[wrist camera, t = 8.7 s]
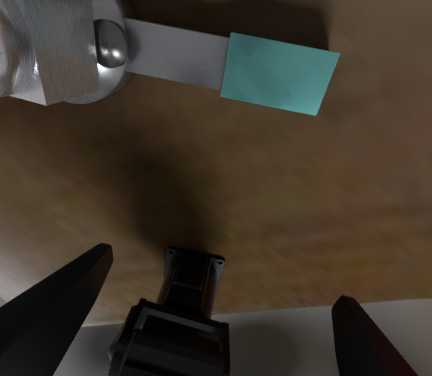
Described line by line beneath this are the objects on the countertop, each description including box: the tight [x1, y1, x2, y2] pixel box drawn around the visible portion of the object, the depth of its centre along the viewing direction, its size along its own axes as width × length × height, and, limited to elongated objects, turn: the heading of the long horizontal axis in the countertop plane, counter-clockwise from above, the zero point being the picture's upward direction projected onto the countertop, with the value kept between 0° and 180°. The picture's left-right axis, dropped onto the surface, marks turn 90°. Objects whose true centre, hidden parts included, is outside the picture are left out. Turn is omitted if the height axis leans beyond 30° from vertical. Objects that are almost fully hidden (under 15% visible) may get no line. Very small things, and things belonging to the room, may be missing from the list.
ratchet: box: [65, 0, 340, 116], centre depth 14 cm, size 20×8×6 cm, turn 81°
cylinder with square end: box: [0, 0, 100, 106], centre depth 12 cm, size 5×5×6 cm
